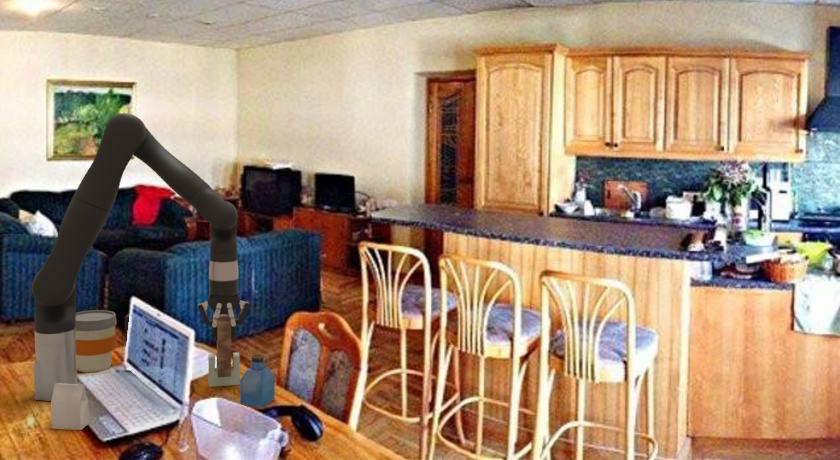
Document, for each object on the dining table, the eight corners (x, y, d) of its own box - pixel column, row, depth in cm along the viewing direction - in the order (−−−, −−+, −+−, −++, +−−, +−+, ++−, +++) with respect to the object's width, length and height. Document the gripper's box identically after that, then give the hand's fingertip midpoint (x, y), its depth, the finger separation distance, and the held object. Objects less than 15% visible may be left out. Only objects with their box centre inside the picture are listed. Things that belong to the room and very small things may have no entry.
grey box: (80, 430, 164) (79, 387, 162) (51, 428, 164) (50, 386, 163) (88, 423, 167) (87, 382, 166) (60, 422, 168) (58, 380, 166)
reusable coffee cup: (86, 358, 212) (84, 308, 210) (126, 361, 211) (125, 311, 209) (59, 372, 200) (57, 319, 198) (101, 375, 198) (100, 322, 196)
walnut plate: (217, 377, 191) (217, 322, 189) (216, 367, 199) (216, 314, 197) (231, 376, 192) (231, 321, 190) (229, 366, 200) (229, 314, 198)
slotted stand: (208, 386, 193) (208, 358, 192) (208, 382, 197) (208, 354, 195) (239, 384, 196) (239, 356, 195) (238, 380, 199) (238, 352, 198)
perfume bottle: (274, 399, 187) (274, 354, 185) (261, 407, 181) (261, 361, 179) (253, 395, 189) (253, 351, 187) (240, 403, 183) (240, 357, 181)
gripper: (196, 280, 186) (196, 345, 189) (252, 279, 191) (251, 342, 193) (195, 274, 193) (196, 336, 196) (249, 273, 198) (249, 334, 200)
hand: (223, 339), depth 194 cm, fingers closed on walnut plate, 3 cm apart
